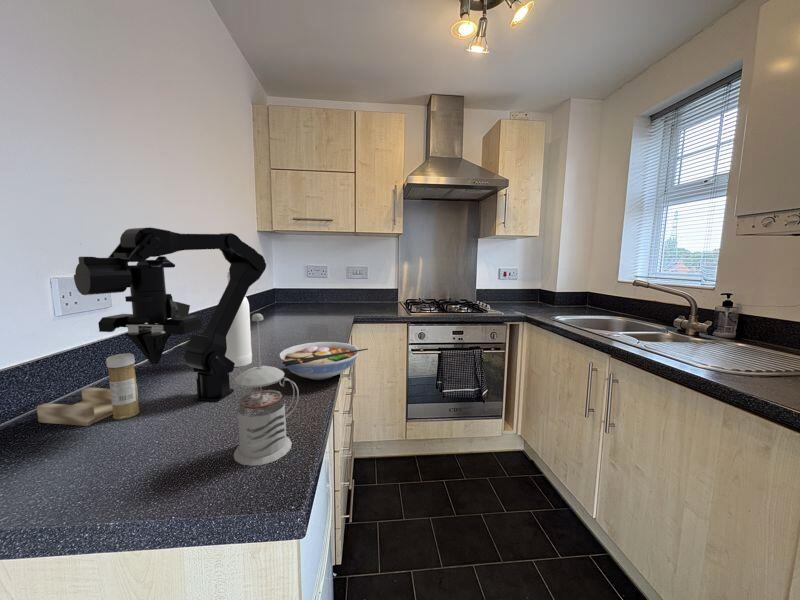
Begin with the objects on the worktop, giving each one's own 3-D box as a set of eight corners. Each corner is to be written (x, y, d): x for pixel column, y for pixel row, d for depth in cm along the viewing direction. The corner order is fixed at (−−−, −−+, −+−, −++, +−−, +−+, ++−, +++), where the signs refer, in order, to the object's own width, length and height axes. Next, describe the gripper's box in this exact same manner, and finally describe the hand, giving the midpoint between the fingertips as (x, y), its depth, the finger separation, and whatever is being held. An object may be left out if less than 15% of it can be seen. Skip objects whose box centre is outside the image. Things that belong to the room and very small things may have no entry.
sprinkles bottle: (141, 408, 73) (136, 351, 72) (137, 417, 69) (131, 357, 68) (115, 413, 71) (109, 354, 69) (109, 422, 67) (102, 360, 65)
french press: (225, 448, 59) (217, 313, 56) (286, 425, 67) (282, 306, 64) (245, 473, 52) (236, 321, 49) (310, 445, 60) (307, 312, 57)
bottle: (251, 365, 103) (246, 272, 99) (223, 368, 100) (217, 272, 96) (252, 358, 111) (248, 271, 107) (226, 361, 108) (221, 271, 104)
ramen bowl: (341, 358, 112) (341, 335, 111) (377, 378, 94) (377, 351, 93) (266, 372, 97) (265, 346, 96) (290, 399, 79) (289, 367, 78)
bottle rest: (133, 404, 76) (131, 390, 75) (87, 426, 66) (85, 409, 65) (89, 401, 77) (88, 387, 76) (38, 422, 67) (36, 406, 67)
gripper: (217, 287, 73) (221, 354, 75) (142, 286, 75) (148, 351, 77) (178, 292, 62) (184, 371, 64) (92, 290, 64) (100, 366, 66)
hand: (155, 363), depth 68 cm, fingers closed
